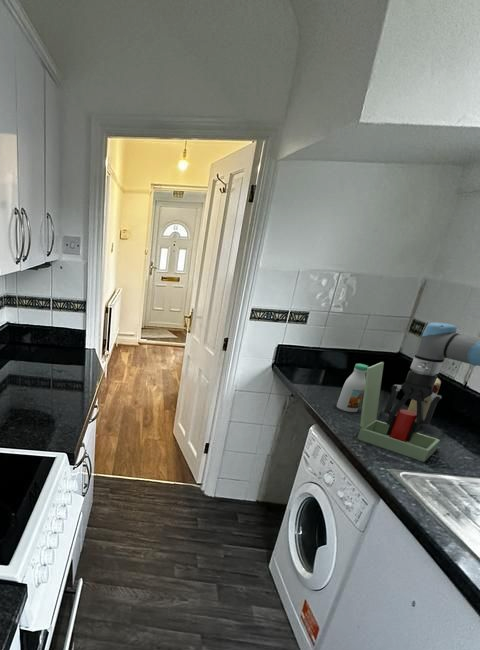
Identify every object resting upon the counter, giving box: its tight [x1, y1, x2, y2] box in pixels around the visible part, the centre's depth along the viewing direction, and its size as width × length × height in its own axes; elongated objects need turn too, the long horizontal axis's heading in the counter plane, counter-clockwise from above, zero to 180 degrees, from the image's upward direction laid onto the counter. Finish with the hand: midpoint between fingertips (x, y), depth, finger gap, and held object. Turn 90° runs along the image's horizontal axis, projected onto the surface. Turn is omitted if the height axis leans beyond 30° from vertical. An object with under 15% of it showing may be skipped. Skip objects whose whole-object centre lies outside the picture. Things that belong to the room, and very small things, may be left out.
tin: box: [389, 409, 417, 443], centre depth 140 cm, size 5×5×12 cm
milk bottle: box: [336, 363, 369, 413], centre depth 168 cm, size 8×8×20 cm
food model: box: [407, 377, 442, 422], centre depth 156 cm, size 10×7×20 cm
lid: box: [359, 361, 385, 428], centre depth 145 cm, size 21×14×1 cm
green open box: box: [356, 419, 441, 463], centre depth 142 cm, size 20×14×5 cm
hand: (398, 436), depth 142 cm, fingers closed on tin, 5 cm apart
